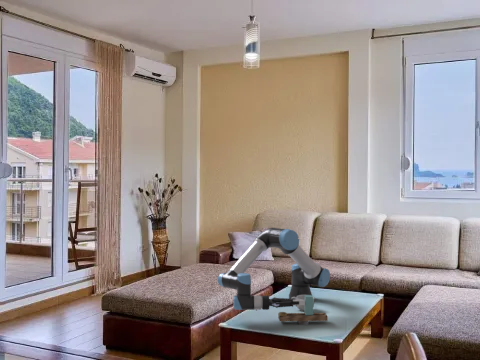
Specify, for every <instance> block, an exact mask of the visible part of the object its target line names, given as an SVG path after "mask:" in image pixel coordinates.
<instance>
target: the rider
mask: <svg viewBox="0 0 480 360" xmlns="http://www.w3.org/2000/svg"><path fill="white" fill-rule="evenodd" d="M313 297H314V296H313V294H312V295H305V311H304V313H305V315H313V313H314V307H313Z"/></svg>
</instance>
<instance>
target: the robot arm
mask: <svg viewBox="0 0 480 360" xmlns="http://www.w3.org/2000/svg"><path fill="white" fill-rule="evenodd" d="M270 248H275V249H279V250H280V251H281V252H282V253H283V254H284V255H288V256H289V257H290V258H291V260H293V261H294V263H293V264H291V287H290V290H289V294H288V298H283V297H282V298H281V297H273V298H270V296H269V295H252V294H251V293H252V277H251V274H250V273H248V272H247V273H246V271H247V270H248V269H249V268H250V266H252V264H253V263H254V262H255V261H256V260H257V259H258V258H259V256H261V254H263V252H266V251H267V250H268V249H270ZM330 279H331V272H330V270H329V269H328V268H325V267H322V265H321V264H319V263H318V262H316V261H314V260H313V259H312V257H310V256H309V254H307V253H306V251H305V250H304V248H302V246H301V245H300V239H299V234H298V233H297V232H296V231H295V230H294V229H289V228H280V227H279V228H277V227H270V228H269V227H268V228H267V229H265V230H263V231H261V232H260V233H259V234H257V236H256V237H255V238H254V239H253V243H252V244H250V246H249V247H248V248H247V249H246V250H245V252H244V253H243V254H242V255H241V256H240V257H239V258H238V259H237V261H236V262H235V263H234V264H233V265H232V266H231V267H230V268H229V269H228V270H227V271H226V272H221V273H220V274H219V275H218V277H217V284H218V285H219V286H220V287H223V288H225V289H226V288H227V289H231V290H236V294H235V295H234V296H233V302H232V303H233V309H234V310H237V311H247V310H249V311H251V310H255V311H259V310H265V311H266V310H267V311H268V310H270V307H272V308H276V309H278V308H287V307H289V308H290V307H292V308H293V307H294V306H295V305H305V300H295V299H293V298H292V297H297V296H298V295H312V296H313V294H312V290H311V287H310V285H311V286H315V287H316V286H317V287H320V288H325V287H327V286H328V284H329V281H330Z"/></svg>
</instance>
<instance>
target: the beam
mask: <svg viewBox="0 0 480 360" xmlns="http://www.w3.org/2000/svg"><path fill="white" fill-rule="evenodd" d="M328 317H329V316H328V315H327V313H326V312H313V315H305V312H285V311H279V312H278V317H277V318H278V320H279V322H297V324H298V325H299V326H303V325H304V326H306V325H307V326H309V322H328Z"/></svg>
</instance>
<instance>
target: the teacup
mask: <svg viewBox="0 0 480 360" xmlns="http://www.w3.org/2000/svg"><path fill="white" fill-rule="evenodd" d="M292 298H293V299H295V300H305V295H298V296H297V297H292ZM294 306H295V307H296V308H297V309H299V311H301V312H305V305H294ZM314 306H315V297H314V296H313V308H315V307H314Z"/></svg>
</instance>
